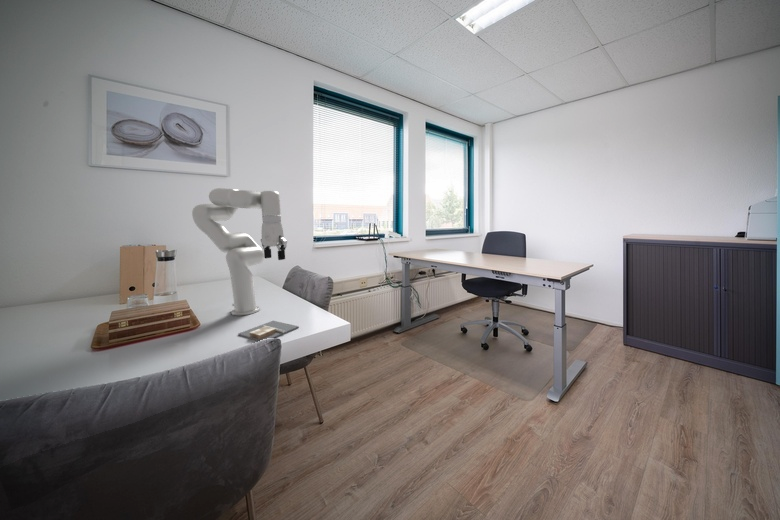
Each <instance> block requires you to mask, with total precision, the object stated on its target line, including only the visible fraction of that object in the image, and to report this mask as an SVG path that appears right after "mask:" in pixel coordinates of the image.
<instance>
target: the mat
mask: <svg viewBox="0 0 780 520" xmlns="http://www.w3.org/2000/svg"><path fill="white" fill-rule="evenodd" d="M265 326H267V327H271V328H275V329H276V333H274V334H271V335H269V336H267V337H264V338H262V339H257V338H254V337H250V332H252V331H255V330H257V329H260V328H262V327H265ZM299 328H300V327H299V325H294V324H290V323H285V322H281V321H276V320H272V321H271V320H270V321H269V322H266V323H263V324H261V325H258V326H255V327H252V328H249V329H247V330H244V331H243V332H239V333H238V334H237V335H238V336H241V337H243V338H247V339H250V340H252V341H253V340H254V341H256V342H260V340H263V339H267V338H274V337H276V338H279V337H280V336H283V335H286V334H287V333H288V334H289V333H290V332H292V331H294V330H296V329H299ZM274 339H275V338H274Z"/></svg>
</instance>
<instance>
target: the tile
mask: <svg viewBox="0 0 780 520" xmlns="http://www.w3.org/2000/svg"><path fill="white" fill-rule="evenodd" d="M274 333H276V329H275V328H271V327H267V326H265V327H262V328H260V329H257V330H255V331H252V332H250V337H254V338H257V339H262V338H264V337H267V336H269V335H271V334H274Z"/></svg>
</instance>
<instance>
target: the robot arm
mask: <svg viewBox="0 0 780 520" xmlns="http://www.w3.org/2000/svg"><path fill="white" fill-rule="evenodd" d="M208 198H209V199H208V200H209V201H210V202H211V203H200V204H198V205H195V206H193V208H192V211H191V212H192V214H191V215H192V219H193V222H194V224H195V226H196V227H197V228H198V229H199V230H200V231H201V232H202V233H204V234H205V235H206V236H207V237H208V238H209V240H211V241H212V243H213V244H214V245H215V246H216V247H217V248H218V250H220V252H222V253H225V260H226V264H227V267H228V270H229V274H230V283H231V288H232V298H233V303H232V305H231V306H232V307H233V308H234V309H233V310H231V312H230V313H231V315H232V316H236V317H237V316H248V315H252V314H255V313H257V312H259V311H260V309H261V308H260V306H259V305H257V304H256V302H257V301H256V291H255V283H254V276H253V273H252V272H251V270H250V269H249V267H252V266H257V265H260V264H262V263H263V261H264V260H265V259H270V258H271V259H272V248H271V247H276V248H277V259H278V261H282V260H283V261H284V260H286V248H287V244H288V240H287V239H286V238H285V237H284V236H285V235H284V229H283V224H282V216H281V215H282V214H281V213H282V212H281V203H280V202H281V200H280V193H279V192H278V191H276V190H262V191H258V190H246V189H245V190H243V189H242V190H241V189H237V188H223V187H220V188H214V189H212V190H211V191H209V193H208ZM239 209H258V210H259V209H260V210H261V218H262V219H261V220H262V223H261V239H260V243H261V246H262V247H260V245H258V244H257V242H256V241H255V240H254V239H253V238H252V237H251V236H250V235H249V234H248V233H245V232H230V231H228V229H226V227H225V226H223V225H222V224H221V223H218V222H219V221H220V222H223V221H224V222H225V221H229V220H231V219H232V218H233V216H234V215H235V214H236V212H237V211H238V210H239Z"/></svg>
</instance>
